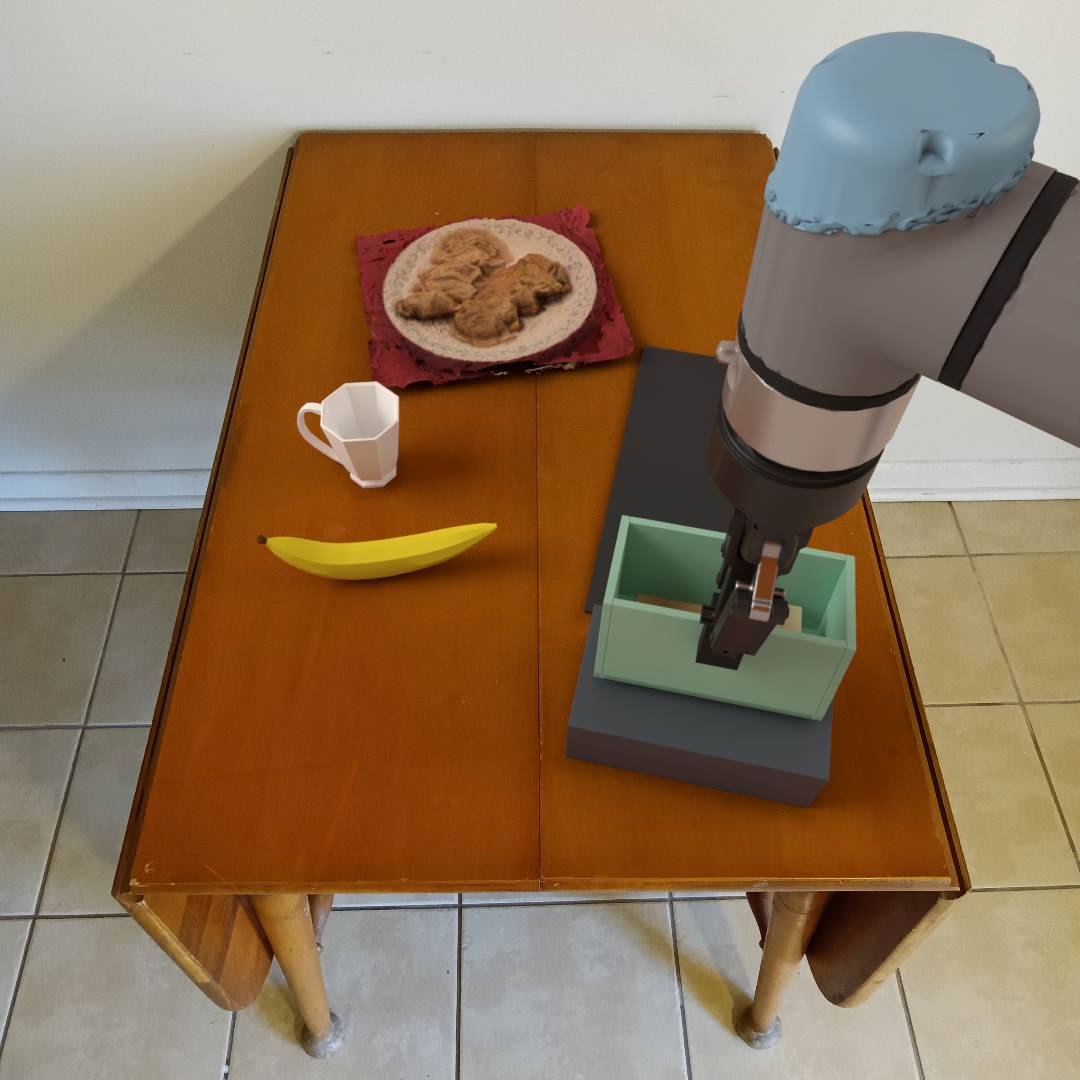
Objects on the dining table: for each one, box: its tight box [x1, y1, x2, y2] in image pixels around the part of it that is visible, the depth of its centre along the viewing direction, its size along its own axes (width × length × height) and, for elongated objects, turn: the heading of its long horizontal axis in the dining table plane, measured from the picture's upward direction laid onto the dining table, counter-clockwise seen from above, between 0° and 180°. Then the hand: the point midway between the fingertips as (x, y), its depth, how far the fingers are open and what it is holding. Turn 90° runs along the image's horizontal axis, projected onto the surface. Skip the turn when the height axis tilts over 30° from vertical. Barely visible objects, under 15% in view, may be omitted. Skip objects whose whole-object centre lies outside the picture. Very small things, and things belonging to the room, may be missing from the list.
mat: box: [584, 345, 731, 614], centre depth 86 cm, size 14×31×1 cm, turn 168°
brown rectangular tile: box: [636, 594, 702, 614], centre depth 68 cm, size 5×4×2 cm
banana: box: [256, 522, 499, 581], centre depth 78 cm, size 3×19×6 cm, turn 97°
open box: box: [594, 515, 857, 721], centre depth 66 cm, size 16×8×8 cm, turn 78°
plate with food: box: [355, 203, 637, 389], centre depth 97 cm, size 24×26×4 cm
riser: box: [565, 604, 834, 809], centre depth 70 cm, size 18×10×6 cm, turn 77°
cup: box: [296, 381, 400, 489], centre depth 83 cm, size 7×10×8 cm
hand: (717, 656), depth 61 cm, fingers closed
